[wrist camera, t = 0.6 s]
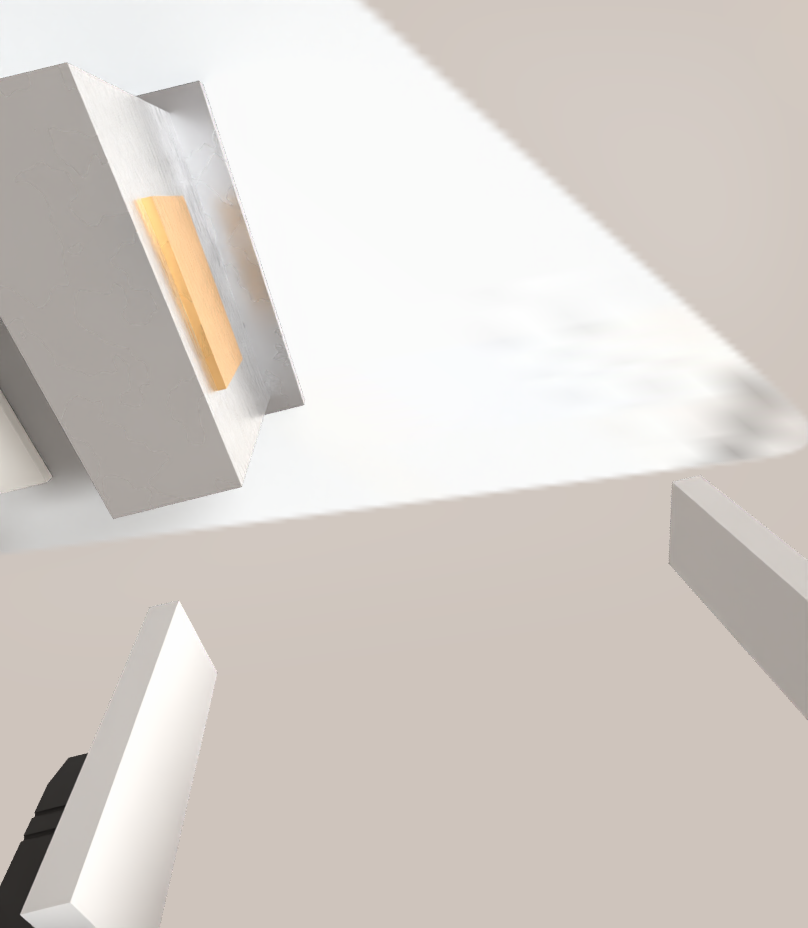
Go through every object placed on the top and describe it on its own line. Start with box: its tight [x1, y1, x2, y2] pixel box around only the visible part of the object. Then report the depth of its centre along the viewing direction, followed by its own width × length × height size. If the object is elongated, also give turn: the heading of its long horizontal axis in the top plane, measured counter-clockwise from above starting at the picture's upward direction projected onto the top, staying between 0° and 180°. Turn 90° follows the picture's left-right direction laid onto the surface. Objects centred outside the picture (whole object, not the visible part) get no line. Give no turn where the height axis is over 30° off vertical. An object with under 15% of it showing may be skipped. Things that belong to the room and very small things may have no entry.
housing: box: [0, 63, 305, 519], centre depth 27 cm, size 18×10×13 cm, turn 12°
